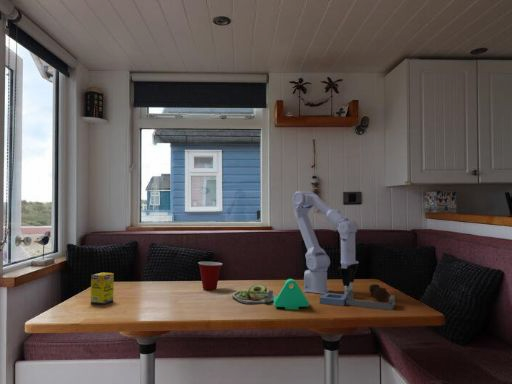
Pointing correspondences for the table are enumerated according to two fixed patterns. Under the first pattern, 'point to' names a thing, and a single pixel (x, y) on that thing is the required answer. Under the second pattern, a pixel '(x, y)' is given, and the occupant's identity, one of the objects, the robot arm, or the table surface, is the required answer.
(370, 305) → the mount bracket
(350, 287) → the grey metal cylinder
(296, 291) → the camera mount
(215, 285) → the plastic cup
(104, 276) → the supplement box
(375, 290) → the bolt
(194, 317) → the table surface
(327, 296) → the socket
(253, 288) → the salad plate
